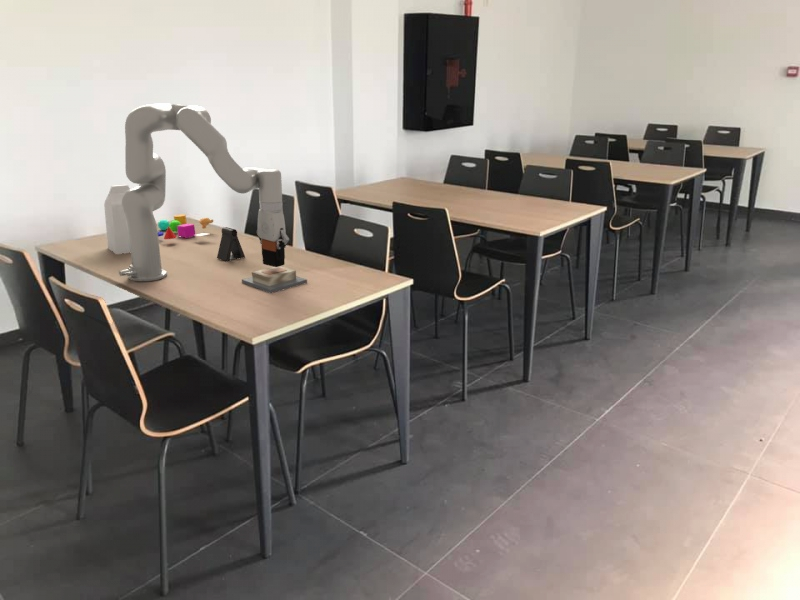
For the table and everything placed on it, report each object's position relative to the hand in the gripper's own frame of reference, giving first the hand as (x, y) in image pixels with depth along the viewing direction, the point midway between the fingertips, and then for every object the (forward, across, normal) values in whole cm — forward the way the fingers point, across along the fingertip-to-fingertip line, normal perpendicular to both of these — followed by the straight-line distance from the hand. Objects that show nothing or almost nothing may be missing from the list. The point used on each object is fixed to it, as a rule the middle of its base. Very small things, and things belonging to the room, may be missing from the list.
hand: (273, 256), depth 218 cm
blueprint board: (+9, 0, 0) cm, 9 cm away
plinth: (+8, 0, 0) cm, 8 cm away
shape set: (+10, -82, +13) cm, 84 cm away
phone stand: (+10, -37, +8) cm, 39 cm away
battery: (+3, 0, 0) cm, 3 cm away
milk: (+10, -77, -14) cm, 79 cm away
